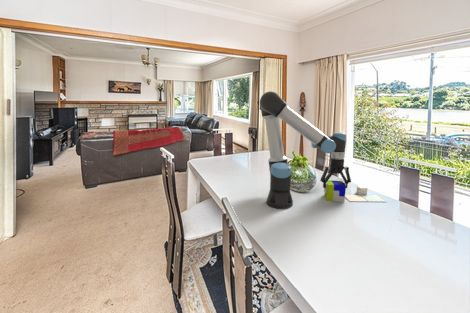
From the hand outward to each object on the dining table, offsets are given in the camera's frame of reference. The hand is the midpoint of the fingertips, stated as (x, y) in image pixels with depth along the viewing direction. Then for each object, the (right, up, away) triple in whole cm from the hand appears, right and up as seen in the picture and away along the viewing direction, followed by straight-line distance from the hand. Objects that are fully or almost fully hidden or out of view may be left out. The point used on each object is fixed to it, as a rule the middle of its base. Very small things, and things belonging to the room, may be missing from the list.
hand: (334, 193), depth 157 cm
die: (+22, -2, +10) cm, 24 cm away
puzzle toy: (0, -4, +1) cm, 4 cm away
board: (+18, -4, 0) cm, 19 cm away
